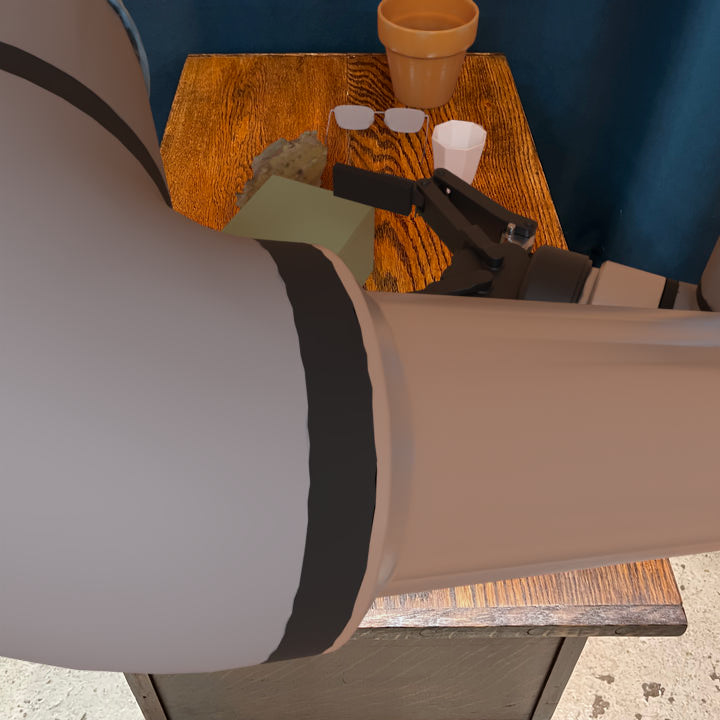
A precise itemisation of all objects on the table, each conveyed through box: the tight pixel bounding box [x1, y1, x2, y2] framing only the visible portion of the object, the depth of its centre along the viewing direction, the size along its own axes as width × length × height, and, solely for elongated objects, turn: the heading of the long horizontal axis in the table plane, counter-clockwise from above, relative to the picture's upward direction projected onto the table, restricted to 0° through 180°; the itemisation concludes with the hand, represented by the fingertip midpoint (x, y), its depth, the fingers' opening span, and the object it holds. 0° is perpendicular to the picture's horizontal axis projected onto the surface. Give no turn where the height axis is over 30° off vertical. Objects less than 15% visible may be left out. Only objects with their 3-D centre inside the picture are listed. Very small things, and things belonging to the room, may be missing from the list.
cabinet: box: [219, 175, 376, 287], centre depth 82 cm, size 15×13×10 cm
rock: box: [234, 129, 329, 211], centre depth 94 cm, size 11×14×10 cm
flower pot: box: [377, 0, 480, 110], centre depth 110 cm, size 14×14×13 cm
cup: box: [431, 119, 488, 193], centre depth 96 cm, size 7×10×8 cm
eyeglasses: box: [324, 104, 430, 164], centre depth 104 cm, size 14×8×4 cm, turn 84°
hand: (293, 228), depth 55 cm, fingers open, 13 cm apart
